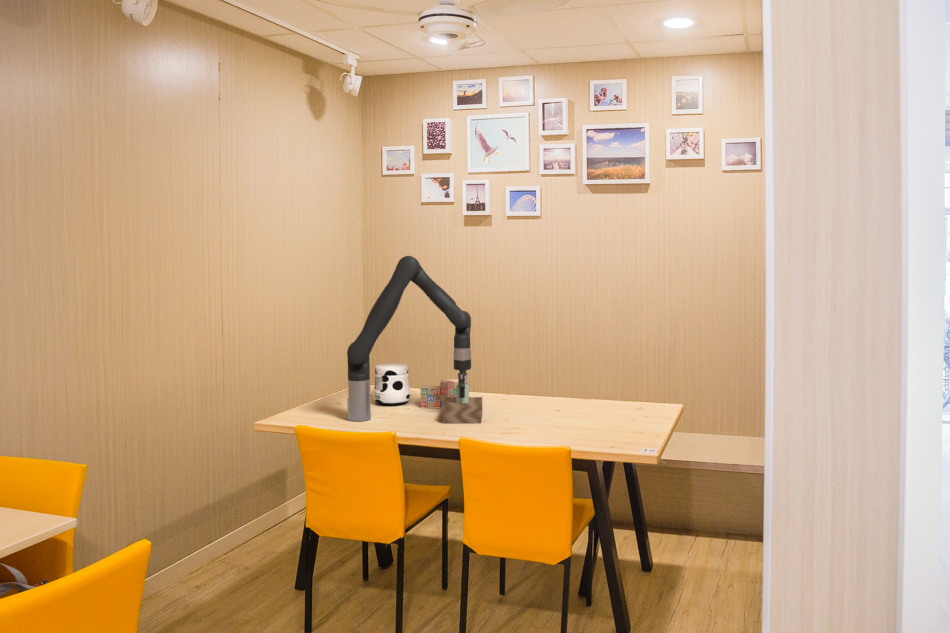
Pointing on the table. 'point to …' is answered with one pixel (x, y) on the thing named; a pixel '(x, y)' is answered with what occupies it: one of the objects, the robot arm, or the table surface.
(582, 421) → the table surface
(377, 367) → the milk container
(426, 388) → the stack of blocks
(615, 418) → the table surface
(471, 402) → the block
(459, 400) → the sage block
